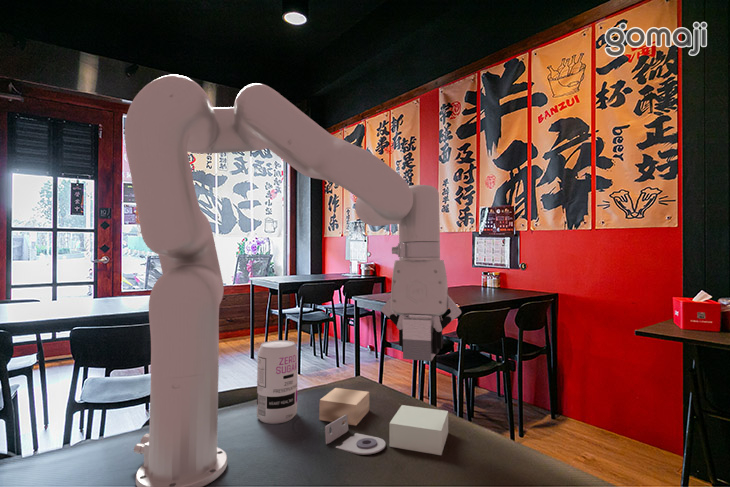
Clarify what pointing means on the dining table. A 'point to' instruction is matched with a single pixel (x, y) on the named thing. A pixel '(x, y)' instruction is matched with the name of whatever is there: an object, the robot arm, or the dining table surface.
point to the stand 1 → (344, 405)
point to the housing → (418, 337)
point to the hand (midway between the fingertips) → (420, 350)
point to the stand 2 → (419, 429)
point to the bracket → (353, 439)
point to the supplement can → (277, 381)
